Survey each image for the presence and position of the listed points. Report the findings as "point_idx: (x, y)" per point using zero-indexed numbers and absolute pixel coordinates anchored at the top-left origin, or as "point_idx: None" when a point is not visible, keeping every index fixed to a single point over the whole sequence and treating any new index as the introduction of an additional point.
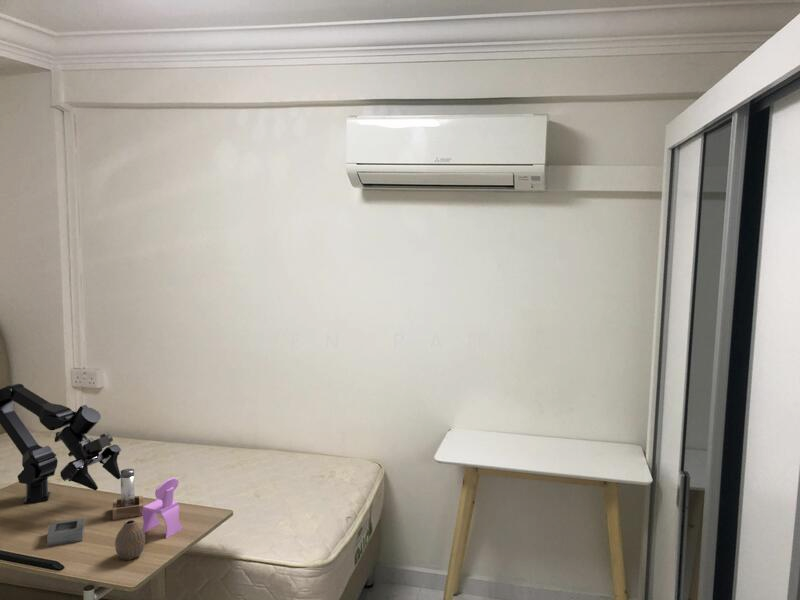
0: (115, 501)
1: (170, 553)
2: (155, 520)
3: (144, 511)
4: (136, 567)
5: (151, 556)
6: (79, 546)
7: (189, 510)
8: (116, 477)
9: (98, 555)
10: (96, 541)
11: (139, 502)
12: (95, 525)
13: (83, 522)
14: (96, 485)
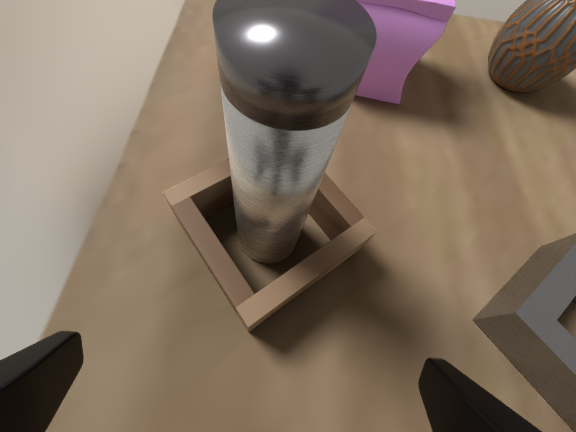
0: (274, 289)
1: (451, 18)
2: None
3: (430, 32)
4: None
5: (482, 42)
6: (568, 228)
7: (207, 51)
8: (61, 393)
9: (558, 143)
10: (513, 197)
11: None
12: (428, 290)
13: (543, 278)
14: (454, 377)
